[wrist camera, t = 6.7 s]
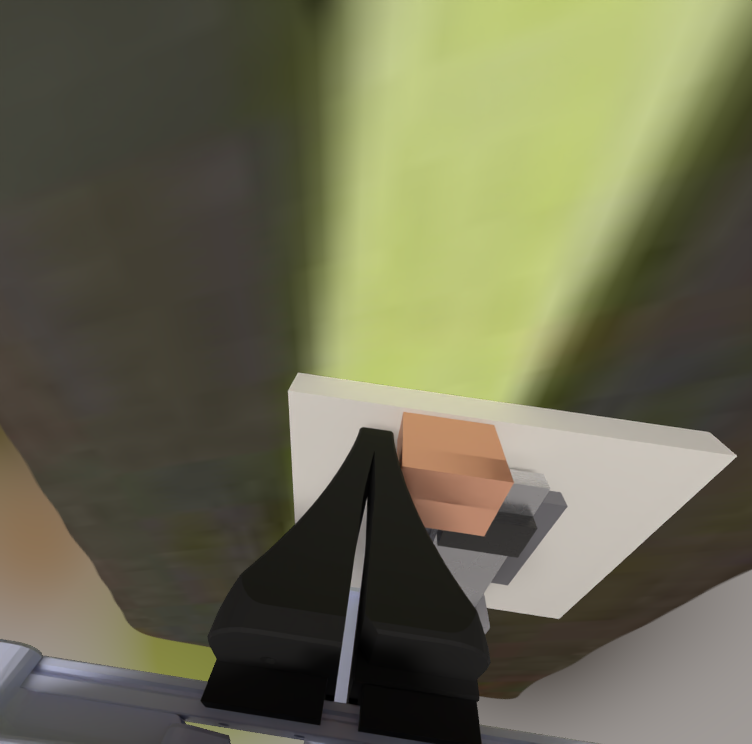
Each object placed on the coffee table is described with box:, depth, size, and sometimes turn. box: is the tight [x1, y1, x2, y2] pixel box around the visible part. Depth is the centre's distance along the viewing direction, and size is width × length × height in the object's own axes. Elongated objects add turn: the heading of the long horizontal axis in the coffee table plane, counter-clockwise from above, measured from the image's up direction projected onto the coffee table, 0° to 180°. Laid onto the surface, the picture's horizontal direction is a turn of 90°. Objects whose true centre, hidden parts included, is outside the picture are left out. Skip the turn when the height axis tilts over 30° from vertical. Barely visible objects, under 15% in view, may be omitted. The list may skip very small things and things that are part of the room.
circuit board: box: [288, 373, 737, 634], centre depth 18 cm, size 18×20×4 cm
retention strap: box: [430, 469, 550, 607], centre depth 17 cm, size 14×4×2 cm, turn 174°
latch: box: [397, 412, 514, 536], centre depth 13 cm, size 4×4×3 cm
